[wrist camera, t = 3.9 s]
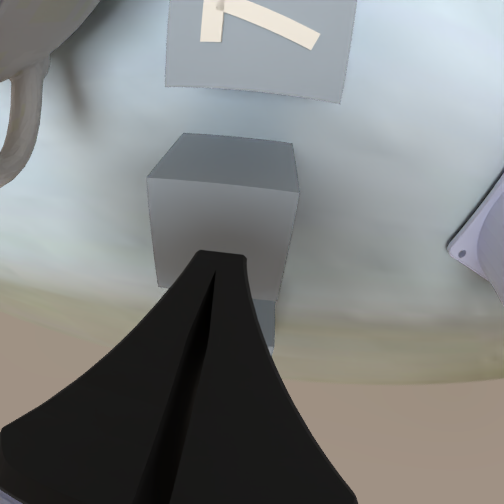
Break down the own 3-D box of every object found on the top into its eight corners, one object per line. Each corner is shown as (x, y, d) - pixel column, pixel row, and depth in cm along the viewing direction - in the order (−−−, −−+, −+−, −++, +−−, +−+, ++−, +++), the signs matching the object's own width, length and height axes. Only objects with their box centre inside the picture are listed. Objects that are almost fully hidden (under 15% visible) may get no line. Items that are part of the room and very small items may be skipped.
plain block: (292, 142, 12) (299, 192, 9) (277, 231, 15) (276, 301, 12) (183, 132, 12) (146, 177, 9) (184, 221, 15) (158, 286, 12)
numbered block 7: (332, -22, 8) (364, -52, 4) (317, 81, 11) (341, 105, 7) (210, -33, 8) (175, -68, 4) (201, 69, 11) (162, 88, 7)
